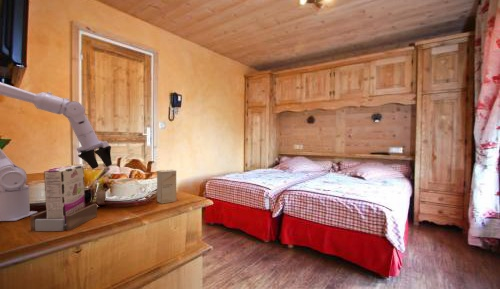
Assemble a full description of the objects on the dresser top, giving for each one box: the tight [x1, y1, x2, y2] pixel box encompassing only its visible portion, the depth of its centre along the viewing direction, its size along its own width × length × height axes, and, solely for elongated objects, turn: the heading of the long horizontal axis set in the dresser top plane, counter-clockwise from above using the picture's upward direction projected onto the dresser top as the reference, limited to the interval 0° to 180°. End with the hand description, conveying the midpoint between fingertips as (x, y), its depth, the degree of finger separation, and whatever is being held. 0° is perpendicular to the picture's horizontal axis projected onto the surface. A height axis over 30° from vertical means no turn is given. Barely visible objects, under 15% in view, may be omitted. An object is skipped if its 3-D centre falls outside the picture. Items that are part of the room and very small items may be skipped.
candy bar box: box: [43, 164, 86, 224], centre depth 72 cm, size 11×5×16 cm, turn 9°
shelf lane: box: [30, 203, 98, 232], centre depth 72 cm, size 11×12×4 cm
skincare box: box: [156, 169, 177, 204], centre depth 94 cm, size 6×4×12 cm
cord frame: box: [35, 190, 107, 232], centre depth 77 cm, size 7×25×5 cm, turn 1°
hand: (102, 166), depth 93 cm, fingers open, 7 cm apart
